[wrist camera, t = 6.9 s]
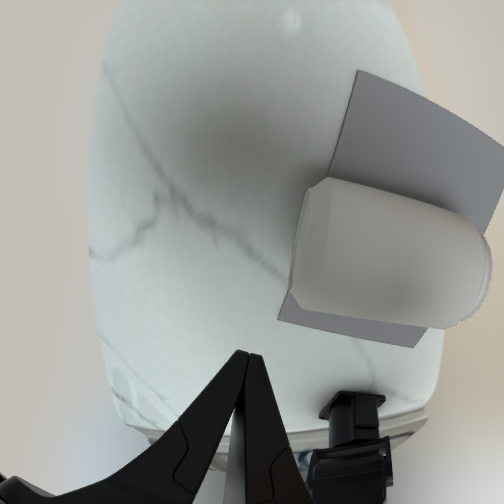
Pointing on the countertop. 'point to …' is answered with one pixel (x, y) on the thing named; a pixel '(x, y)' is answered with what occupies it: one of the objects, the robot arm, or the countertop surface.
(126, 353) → the countertop surface
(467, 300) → the can
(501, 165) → the mat
